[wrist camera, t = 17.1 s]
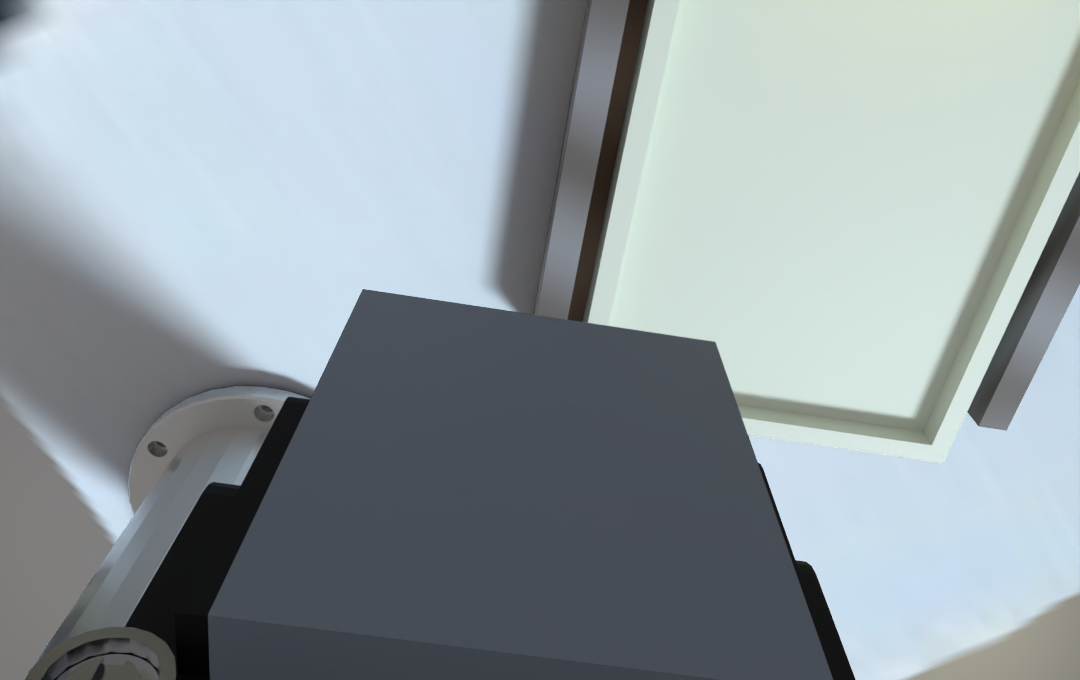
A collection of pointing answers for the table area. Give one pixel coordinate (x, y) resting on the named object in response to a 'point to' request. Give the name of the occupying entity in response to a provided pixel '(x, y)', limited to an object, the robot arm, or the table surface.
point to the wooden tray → (841, 201)
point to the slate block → (514, 514)
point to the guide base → (587, 173)
